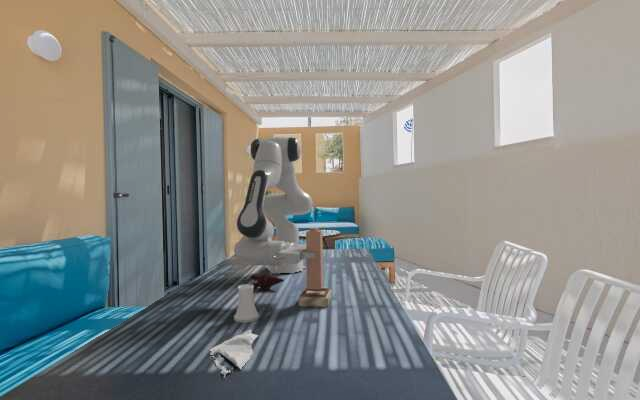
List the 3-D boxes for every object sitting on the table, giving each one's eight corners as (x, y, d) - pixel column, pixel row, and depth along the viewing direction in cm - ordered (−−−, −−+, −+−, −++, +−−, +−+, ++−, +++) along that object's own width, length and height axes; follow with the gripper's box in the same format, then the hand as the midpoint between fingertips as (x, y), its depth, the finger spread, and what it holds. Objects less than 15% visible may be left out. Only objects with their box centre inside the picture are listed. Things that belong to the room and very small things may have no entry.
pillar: (306, 289, 119) (305, 228, 119) (309, 285, 124) (308, 227, 124) (321, 289, 118) (320, 228, 118) (323, 285, 123) (322, 227, 123)
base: (298, 305, 117) (298, 294, 117) (304, 297, 127) (304, 286, 127) (327, 306, 116) (327, 295, 116) (331, 297, 125) (331, 287, 125)
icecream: (287, 271, 142) (254, 273, 146) (280, 271, 135) (246, 272, 139) (287, 289, 140) (254, 290, 144) (280, 289, 133) (245, 290, 137)
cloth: (234, 330, 98) (234, 323, 98) (279, 334, 95) (279, 326, 95) (177, 379, 73) (177, 368, 73) (237, 385, 70) (237, 374, 70)
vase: (253, 323, 102) (252, 290, 102) (229, 322, 104) (228, 289, 103) (262, 314, 109) (261, 283, 109) (240, 313, 111) (239, 282, 111)
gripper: (270, 248, 113) (311, 249, 111) (285, 240, 133) (321, 240, 131) (270, 268, 113) (312, 268, 111) (286, 257, 133) (321, 257, 131)
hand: (317, 253), depth 121 cm, fingers closed on pillar, 5 cm apart
